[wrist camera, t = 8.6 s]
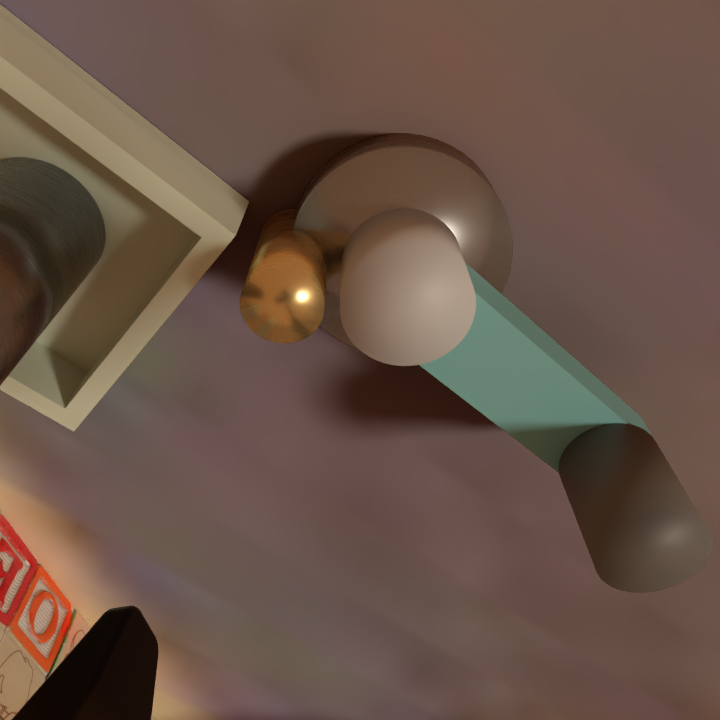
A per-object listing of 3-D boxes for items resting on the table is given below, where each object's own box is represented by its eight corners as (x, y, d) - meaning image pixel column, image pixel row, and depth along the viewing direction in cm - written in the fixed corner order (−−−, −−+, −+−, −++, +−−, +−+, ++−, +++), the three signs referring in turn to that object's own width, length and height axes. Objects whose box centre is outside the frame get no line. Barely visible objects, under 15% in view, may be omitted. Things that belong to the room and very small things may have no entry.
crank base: (401, 363, 21) (410, 442, 18) (246, 245, 19) (223, 310, 16) (545, 231, 19) (587, 294, 15) (386, 77, 17) (395, 113, 13)
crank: (316, 271, 18) (304, 381, 13) (399, 182, 16) (415, 272, 12) (576, 473, 21) (633, 610, 17) (658, 415, 20) (743, 546, 16)
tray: (101, 383, 22) (73, 431, 19) (-158, 227, 19) (-222, 263, 17) (249, 201, 18) (235, 235, 16) (-36, -24, 15) (-97, -18, 13)
